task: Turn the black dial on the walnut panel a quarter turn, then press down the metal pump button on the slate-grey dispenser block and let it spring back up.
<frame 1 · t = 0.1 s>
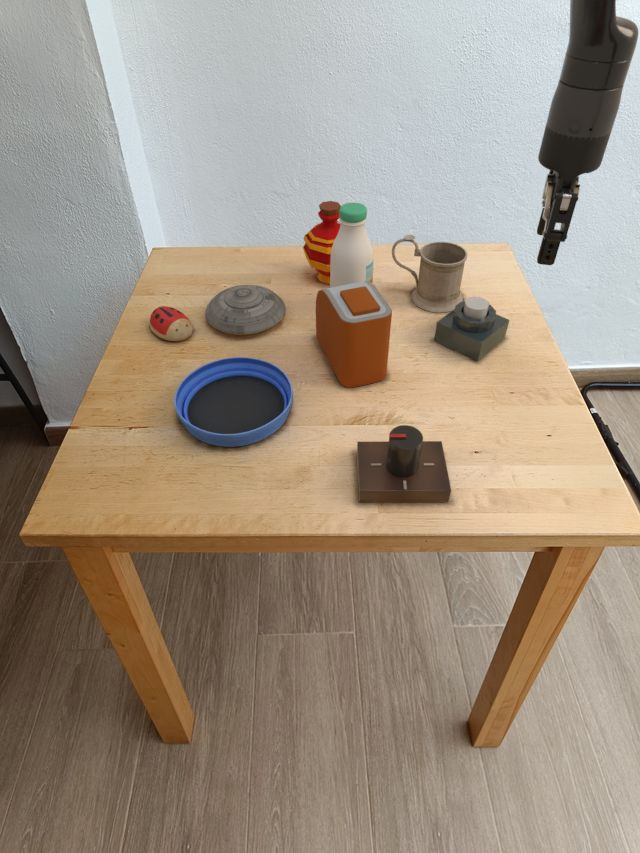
hand: (544, 248, 81), 22 cm above the table, tool pointing down, fingers open, 8 cm apart
dial panel: (400, 476, 81), on the table
alarm clock: (352, 359, 100), on the table
ladybug figurine: (172, 330, 107), on the table
flying saucer: (246, 317, 110), on the table
dispenser: (469, 339, 104), on the table
pump: (475, 308, 99), point 7 cm above the table, slide at 0.1 cm
mug: (425, 297, 114), on the table
milk bottle: (350, 310, 111), on the table
bowl: (236, 410, 92), on the table
dial: (404, 450, 78), point 5 cm above the table, hinge at 0.0°
potion bottle: (329, 277, 119), on the table
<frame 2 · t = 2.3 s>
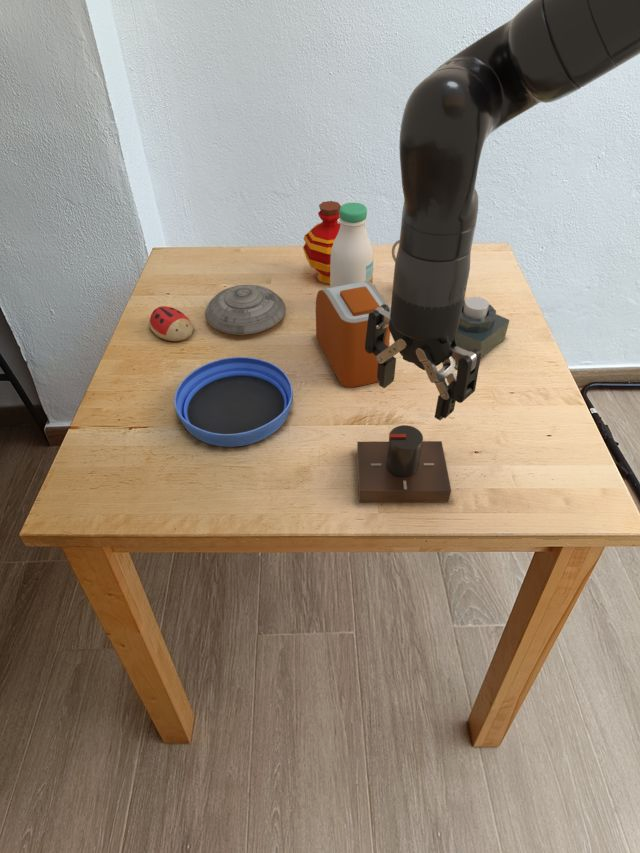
hand: (413, 399, 72), 14 cm above the table, tool pointing down, fingers open, 8 cm apart
nothing on the table moved.
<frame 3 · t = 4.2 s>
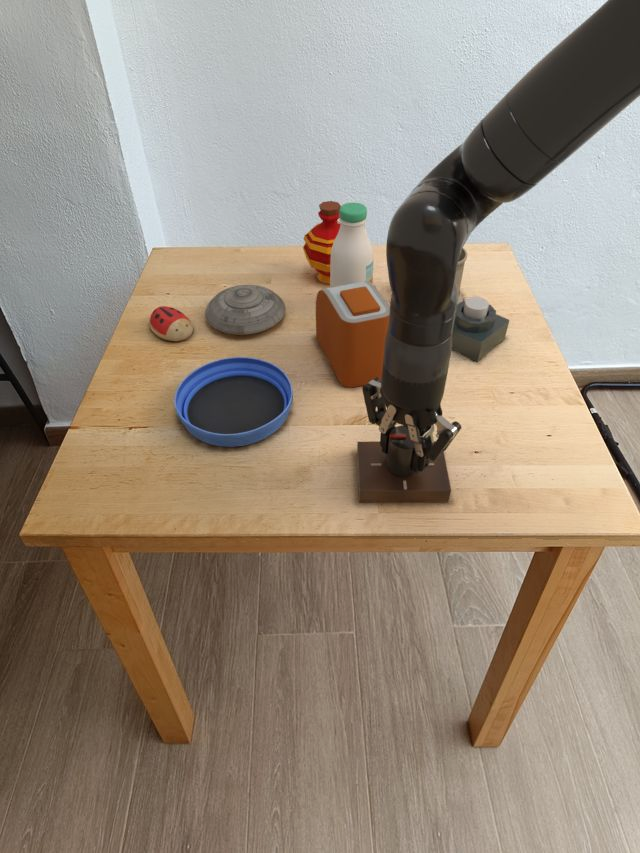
hand: (403, 458, 79), 4 cm above the table, tool pointing down, fingers closed on dial, 4 cm apart
dial: (404, 450, 78), point 5 cm above the table, hinge at 0.1°, touching gripper
everything else where it was.
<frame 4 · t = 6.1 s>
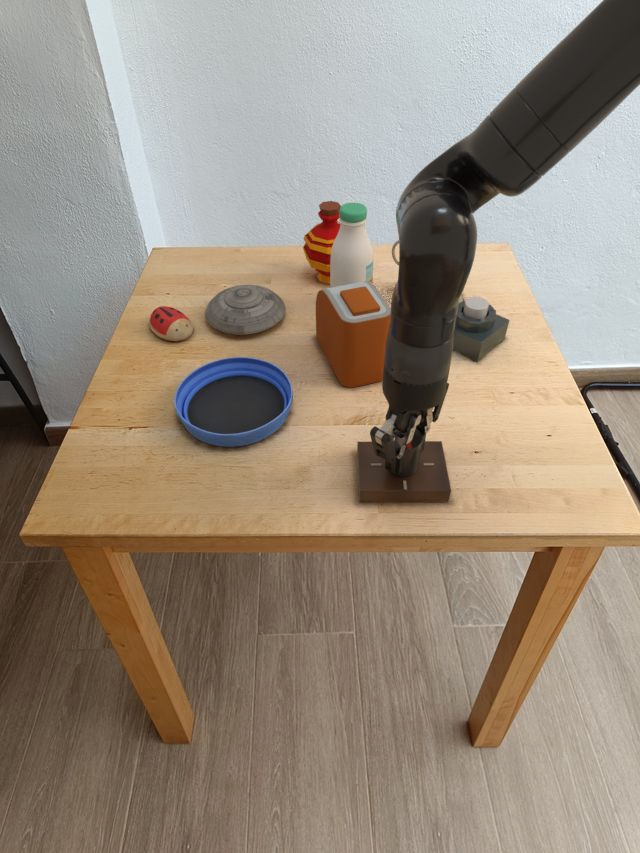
hand: (404, 459, 79), 4 cm above the table, tool pointing down, fingers closed on dial, 4 cm apart
dial: (404, 450, 78), point 5 cm above the table, hinge at 95.5°, touching gripper
everything else where it was.
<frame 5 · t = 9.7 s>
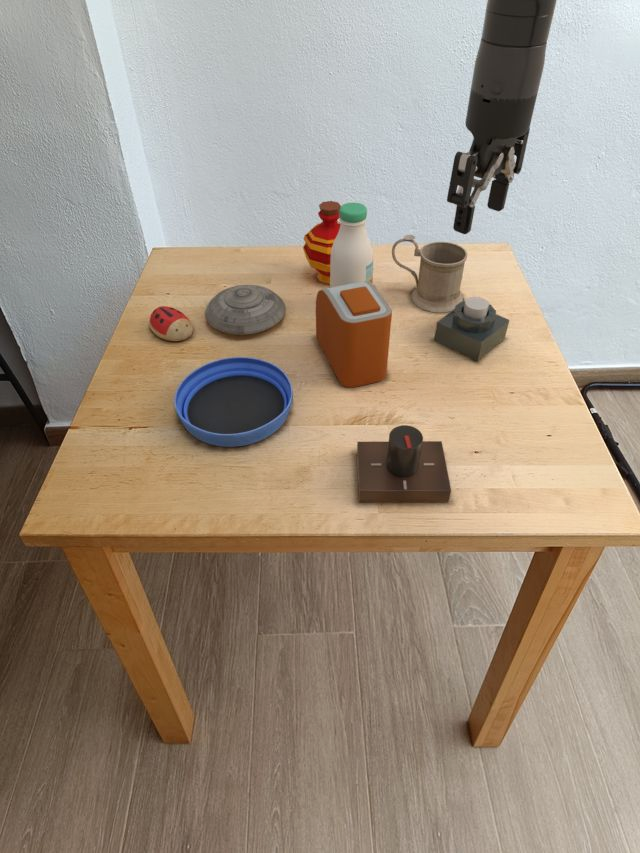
hand: (478, 220, 78), 27 cm above the table, tool pointing down, fingers open, 8 cm apart
dial: (404, 450, 78), point 5 cm above the table, hinge at 95.5°
everything else where it was.
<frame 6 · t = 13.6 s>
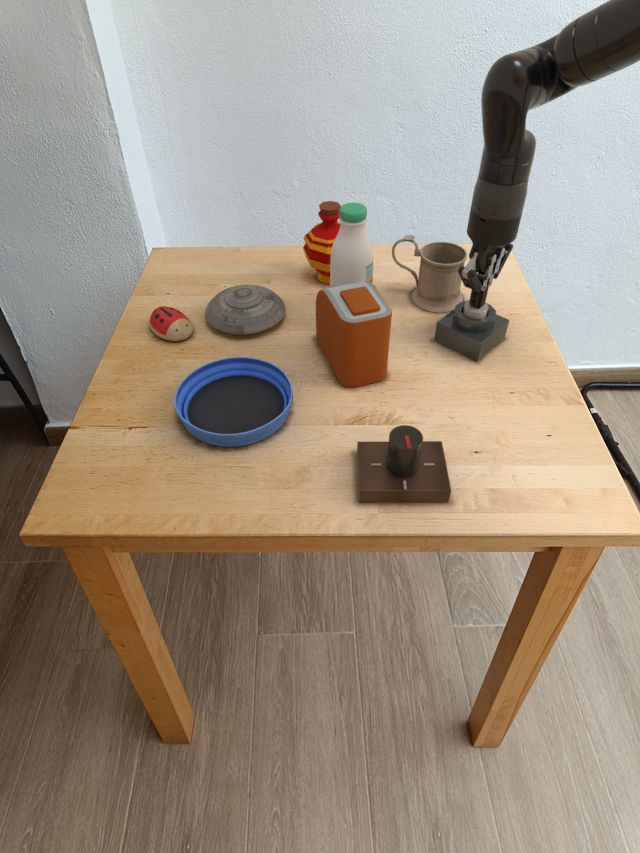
hand: (476, 305, 99), 7 cm above the table, tool pointing down, fingers closed
pump: (475, 310, 99), point 6 cm above the table, slide at -0.5 cm, touching gripper
everything else where it was.
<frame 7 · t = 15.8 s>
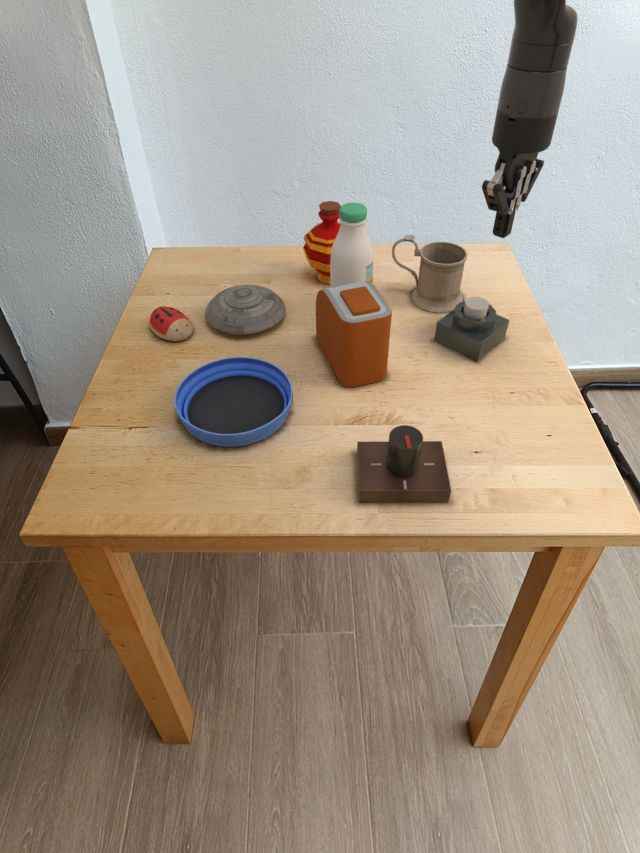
hand: (500, 234, 86), 22 cm above the table, tool pointing down, fingers closed
pump: (475, 308, 99), point 7 cm above the table, slide at 0.1 cm
everything else where it was.
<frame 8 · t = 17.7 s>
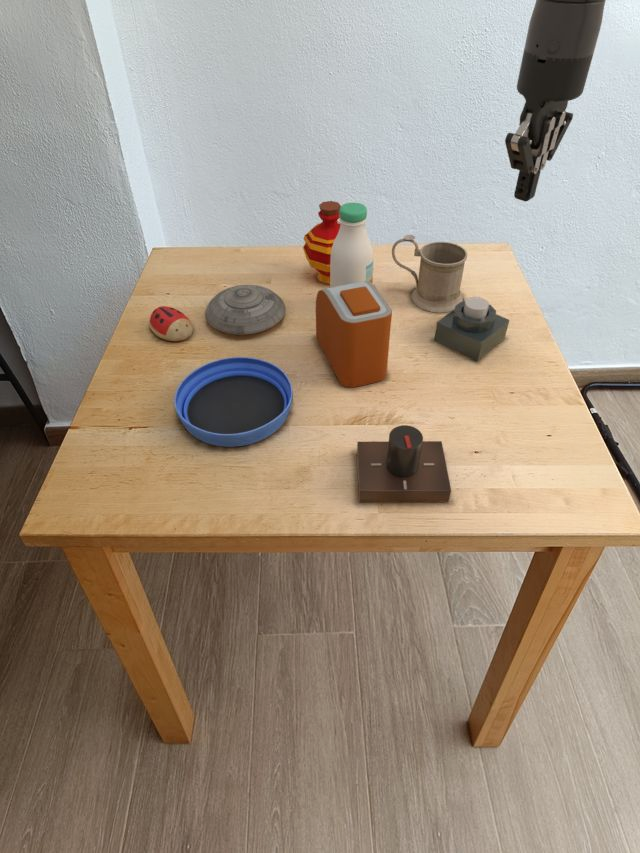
hand: (523, 198, 78), 29 cm above the table, tool pointing down, fingers closed
nothing on the table moved.
at the end: dial at +96° (first picture: +0°); pump pushed in 1.2 cm at the most during the clip, back to where it started at the end; pump slide at 0.1 cm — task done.
